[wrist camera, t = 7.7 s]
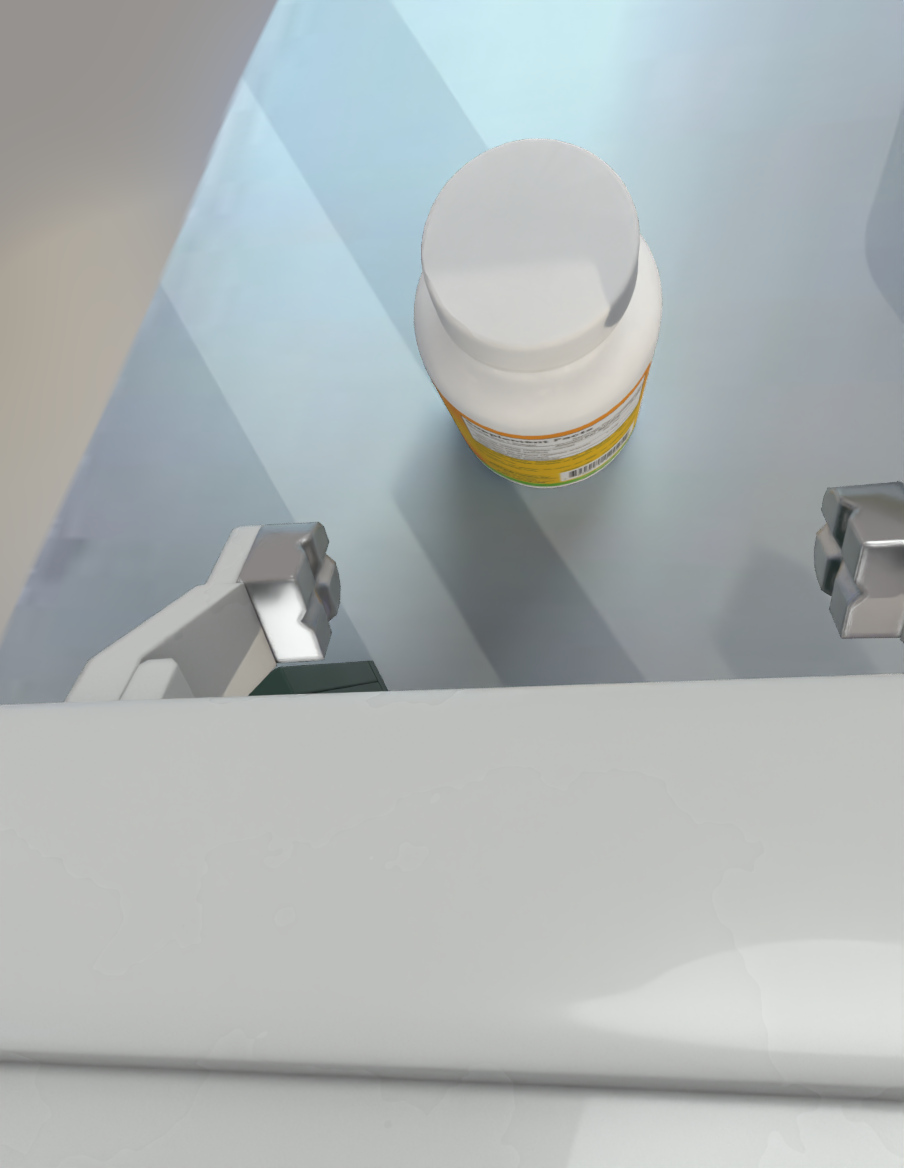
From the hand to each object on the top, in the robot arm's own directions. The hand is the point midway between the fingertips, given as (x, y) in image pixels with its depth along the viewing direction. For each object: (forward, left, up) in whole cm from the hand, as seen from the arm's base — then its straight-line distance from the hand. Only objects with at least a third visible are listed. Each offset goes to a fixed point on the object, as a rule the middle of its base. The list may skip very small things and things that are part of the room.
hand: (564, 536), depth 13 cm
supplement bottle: (+5, -2, -10) cm, 12 cm away
